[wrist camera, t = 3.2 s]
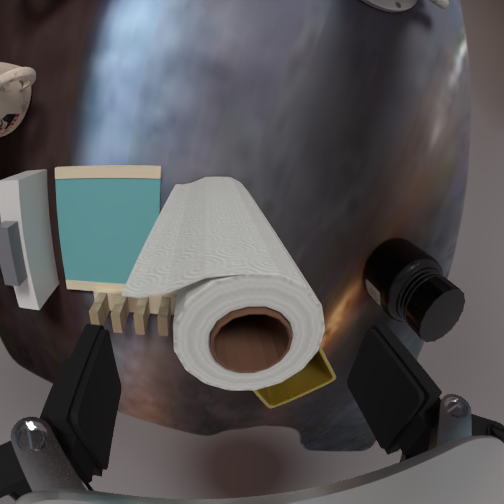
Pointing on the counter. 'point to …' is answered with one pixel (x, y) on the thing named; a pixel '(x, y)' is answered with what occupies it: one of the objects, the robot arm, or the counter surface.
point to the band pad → (105, 221)
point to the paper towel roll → (228, 288)
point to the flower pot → (299, 382)
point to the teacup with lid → (14, 95)
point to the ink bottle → (413, 288)
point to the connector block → (27, 238)
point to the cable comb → (132, 310)
